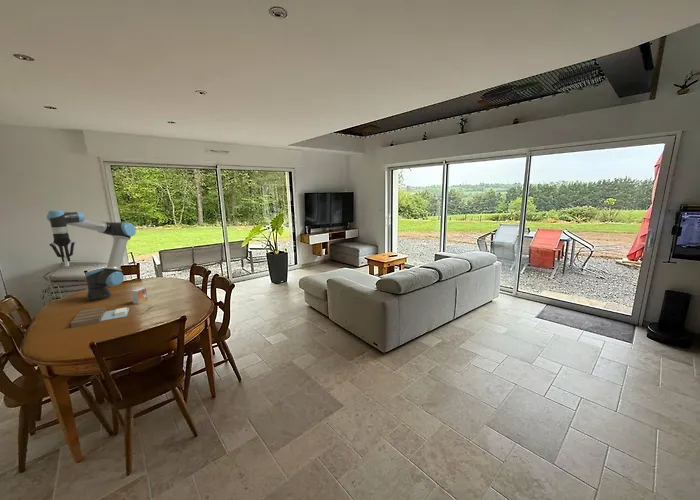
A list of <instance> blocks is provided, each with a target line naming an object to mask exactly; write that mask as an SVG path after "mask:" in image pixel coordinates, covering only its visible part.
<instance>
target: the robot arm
mask: <svg viewBox="0 0 700 500" xmlns="http://www.w3.org/2000/svg"><path fill="white" fill-rule="evenodd" d="M85 216H86V215H85V214H84V213H83V212H81V211H74V212H73V211H72V212H71V211H70V212H69V211H68V212H67V211H64V210H63V209H56V210H55V209H54V210H49V211H48V213H47V215H46V220H47V221H49V223H50V227H51V231H52V237H53V242H52V243H49V244H48V245H49V246H50V247H51V248H52V249H53V251H54V254H56V257H57V258H61V261H62V262H63V263H64V266H65V267H69V266H70V263H69V262H71V257H72V256H73V255H74V248H75V244H76V241H72V240H71V239H70V236H69V232H68V227H67V226H71V227H77V228H80V229H81V228H82V229H86V230H92V231H95V232H98V233H99V234H104V235H108V236H112V237H113V238H114V240H113V244H112V247H111V250H110V253H109V258H108V262H107V266H106V267H104V268H98V269H93V270H89V271H86V272H85V273H84V274H85V282H86V285H87V293H86V299H87V301H98V300H103V299H106V298H109V297H111V296H112V292H111V291H110V289H109V288H108V287H115V286H116V287H117V286H119V285H121V284H122V283H123V281H124V277H125V276H124V274H123V272H122V271H123V270H122V269H121V266H122V263H123V260H124V256H125V252H126V247H127V244H128V241H131V238H132V237H134V236H135V235H136V232H137V231H136V227H135V225H134V224H133V223H131V222H127V221H126V222H122V221H121V222H119V221H118V222H116V221H115V222H111V221H110V222H107V221H106V222H105V221H97V220H92V219H89V218H86V217H85ZM68 245H70V248H69V246H68ZM57 247H58V248H59V250H58V248H57Z"/></svg>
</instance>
